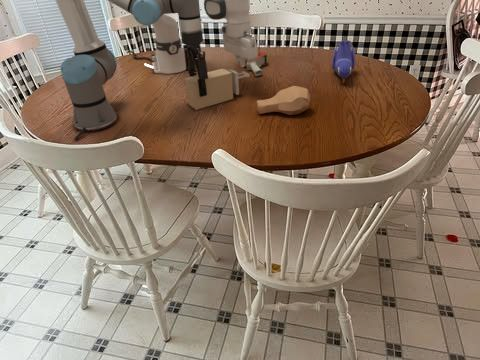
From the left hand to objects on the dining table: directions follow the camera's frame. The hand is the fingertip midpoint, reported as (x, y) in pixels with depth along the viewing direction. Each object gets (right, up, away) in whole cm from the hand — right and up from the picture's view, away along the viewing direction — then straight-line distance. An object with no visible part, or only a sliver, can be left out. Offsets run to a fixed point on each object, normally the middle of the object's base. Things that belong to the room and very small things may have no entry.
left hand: (199, 92), depth 139 cm
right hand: (+16, +12, +4) cm, 20 cm away
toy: (+61, +11, +18) cm, 65 cm away
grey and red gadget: (+23, +20, +34) cm, 45 cm away
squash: (+32, -9, -6) cm, 34 cm away
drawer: (+10, +1, +7) cm, 12 cm away
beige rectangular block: (+4, -2, +5) cm, 7 cm away
